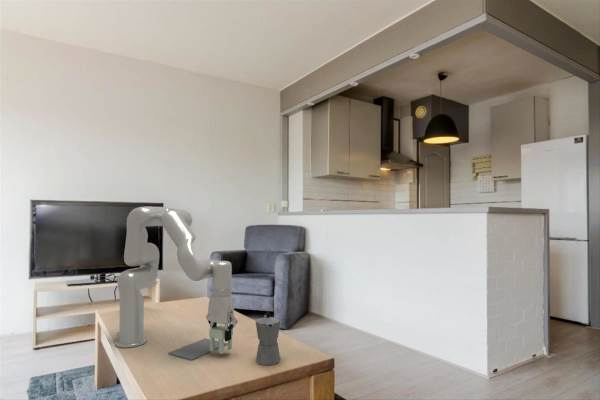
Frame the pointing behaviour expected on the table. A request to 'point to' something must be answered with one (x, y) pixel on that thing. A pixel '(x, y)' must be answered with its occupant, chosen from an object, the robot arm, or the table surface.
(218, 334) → the pale green stool
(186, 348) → the mat
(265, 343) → the coffeepot
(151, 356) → the table surface
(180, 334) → the table surface
